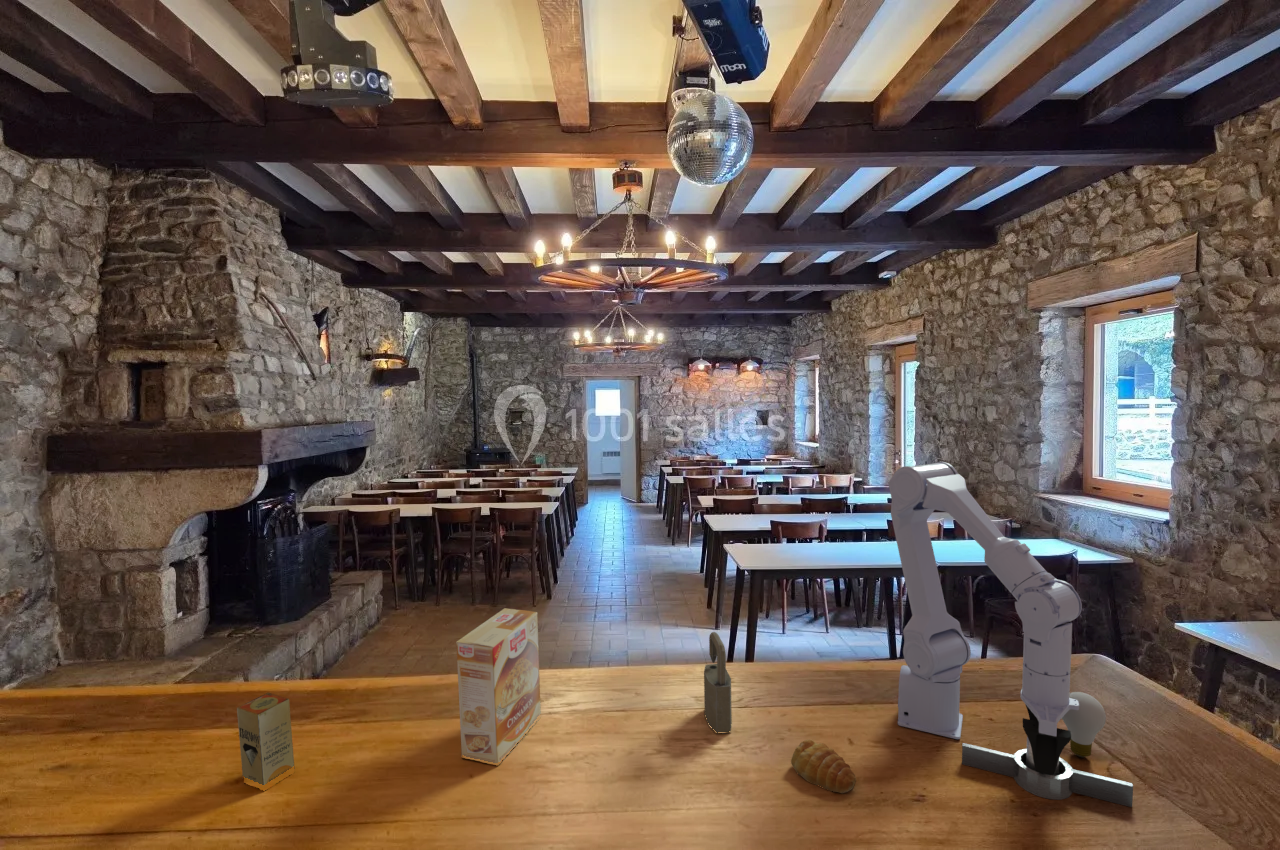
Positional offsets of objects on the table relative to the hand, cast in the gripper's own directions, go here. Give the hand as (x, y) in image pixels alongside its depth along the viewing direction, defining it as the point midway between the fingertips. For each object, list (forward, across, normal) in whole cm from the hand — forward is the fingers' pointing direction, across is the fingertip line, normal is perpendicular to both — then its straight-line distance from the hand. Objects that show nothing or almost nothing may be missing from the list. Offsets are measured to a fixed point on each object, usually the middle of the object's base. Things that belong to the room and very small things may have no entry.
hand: (1043, 757), depth 93 cm
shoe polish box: (+4, -52, +103) cm, 115 cm away
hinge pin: (+4, 0, 0) cm, 4 cm away
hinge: (+4, 0, 0) cm, 4 cm away
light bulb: (+4, +10, -5) cm, 12 cm away
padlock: (+4, -6, +48) cm, 49 cm away
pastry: (+4, -12, +29) cm, 31 cm away
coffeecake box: (+4, -27, +78) cm, 83 cm away
